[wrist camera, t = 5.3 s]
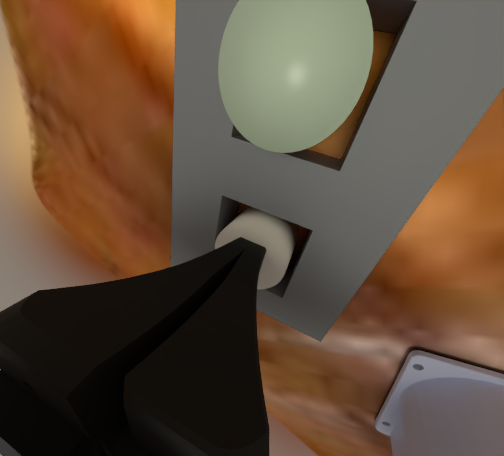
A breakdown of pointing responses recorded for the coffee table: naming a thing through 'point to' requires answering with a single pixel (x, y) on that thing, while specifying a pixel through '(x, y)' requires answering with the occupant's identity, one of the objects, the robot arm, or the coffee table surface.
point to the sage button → (294, 69)
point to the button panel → (325, 167)
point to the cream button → (264, 241)
